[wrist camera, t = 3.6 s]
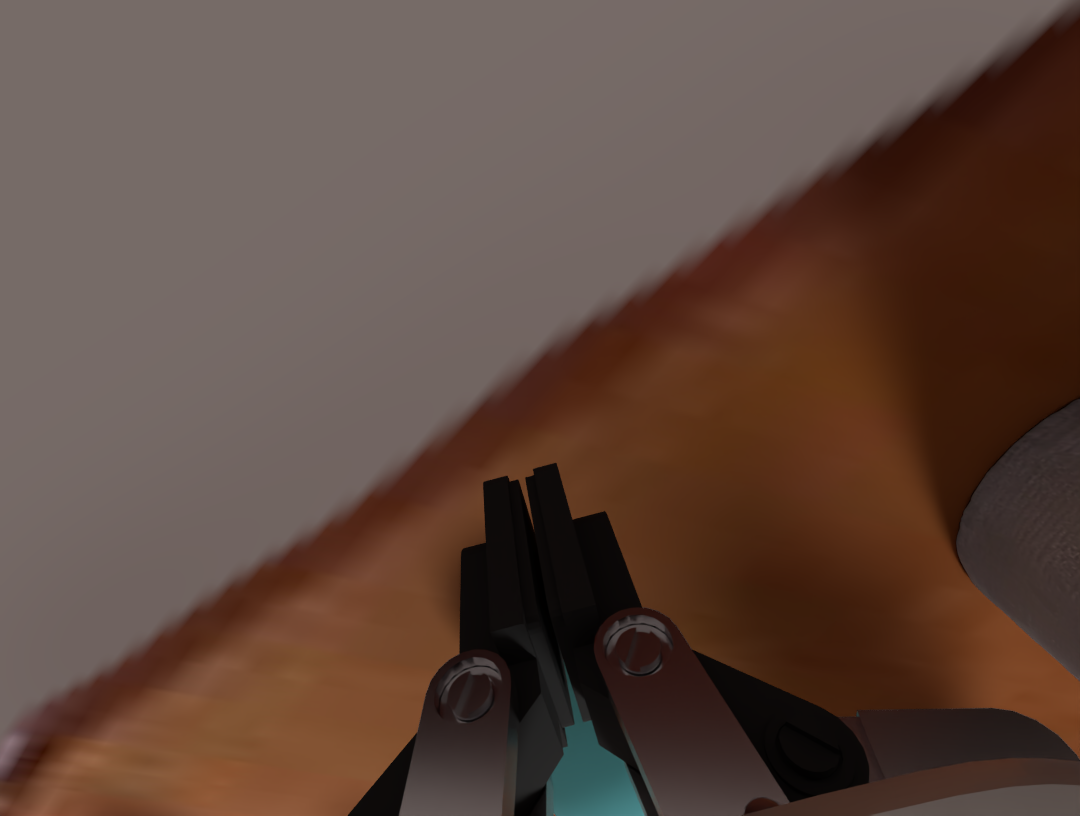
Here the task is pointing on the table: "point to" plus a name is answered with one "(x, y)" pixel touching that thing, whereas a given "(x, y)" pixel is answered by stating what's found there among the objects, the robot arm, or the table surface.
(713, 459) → the table surface
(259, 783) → the table surface
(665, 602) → the table surface
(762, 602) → the table surface
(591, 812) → the ball
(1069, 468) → the pillar candle
